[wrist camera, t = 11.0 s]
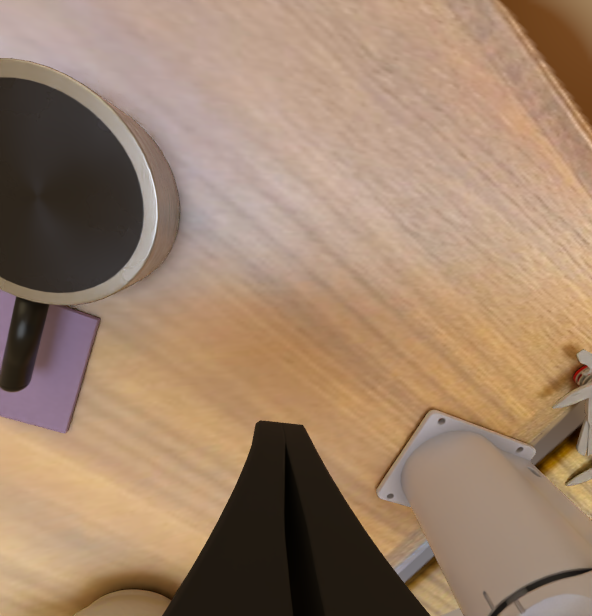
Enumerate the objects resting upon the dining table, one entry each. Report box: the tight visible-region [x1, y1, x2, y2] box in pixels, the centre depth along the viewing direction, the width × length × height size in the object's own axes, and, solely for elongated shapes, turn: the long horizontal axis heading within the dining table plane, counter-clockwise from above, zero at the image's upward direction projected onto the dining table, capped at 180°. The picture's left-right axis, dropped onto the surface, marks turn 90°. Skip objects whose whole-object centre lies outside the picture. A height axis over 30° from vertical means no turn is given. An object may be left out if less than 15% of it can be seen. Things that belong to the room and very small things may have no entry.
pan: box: [0, 58, 180, 392], centre depth 14 cm, size 9×15×3 cm, turn 155°
